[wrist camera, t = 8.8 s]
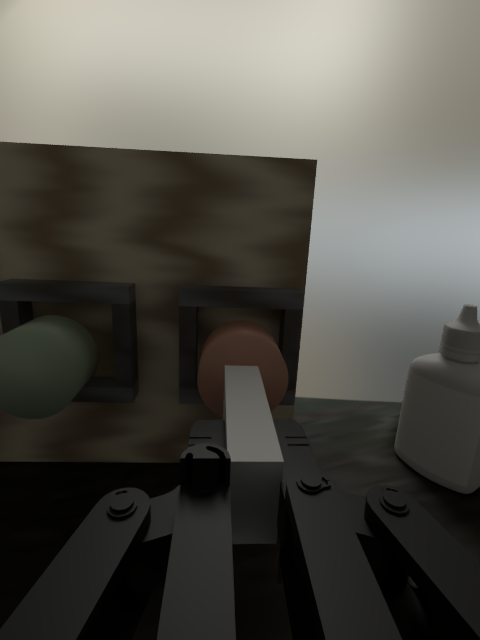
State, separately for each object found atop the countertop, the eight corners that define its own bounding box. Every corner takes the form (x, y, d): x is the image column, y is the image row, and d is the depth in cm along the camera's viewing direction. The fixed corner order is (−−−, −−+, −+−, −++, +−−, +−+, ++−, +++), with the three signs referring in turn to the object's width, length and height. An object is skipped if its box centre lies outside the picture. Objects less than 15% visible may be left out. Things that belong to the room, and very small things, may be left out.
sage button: (100, 391, 20) (96, 316, 19) (79, 419, 17) (72, 332, 16) (20, 390, 20) (10, 313, 18) (-15, 418, 17) (-29, 330, 16)
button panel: (282, 438, 28) (305, 168, 23) (293, 477, 23) (324, 154, 18) (-88, 434, 26) (-154, 142, 21) (-150, 476, 22) (-251, 121, 17)
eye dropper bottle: (429, 498, 22) (469, 316, 19) (386, 445, 28) (412, 296, 25) (493, 497, 23) (543, 317, 20) (439, 444, 28) (471, 297, 25)
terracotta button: (276, 394, 20) (281, 321, 19) (284, 422, 18) (292, 338, 16) (200, 392, 20) (201, 319, 19) (196, 420, 17) (197, 335, 16)
